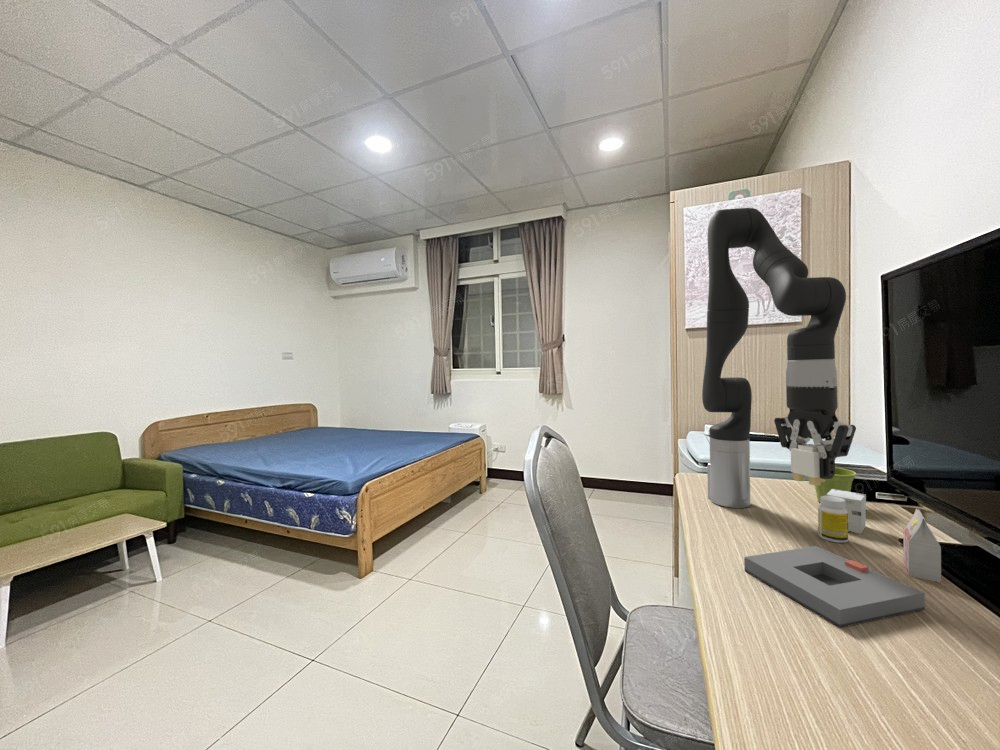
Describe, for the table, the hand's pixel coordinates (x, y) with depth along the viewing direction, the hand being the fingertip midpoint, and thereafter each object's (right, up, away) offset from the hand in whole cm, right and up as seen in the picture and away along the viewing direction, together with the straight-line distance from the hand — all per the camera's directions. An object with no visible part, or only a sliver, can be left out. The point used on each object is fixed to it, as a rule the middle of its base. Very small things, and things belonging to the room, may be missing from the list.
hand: (812, 474), depth 74 cm
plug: (0, -1, 0) cm, 1 cm away
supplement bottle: (+11, -16, +8) cm, 21 cm away
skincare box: (+19, -15, +14) cm, 28 cm away
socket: (-6, -16, -10) cm, 20 cm away
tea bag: (+15, -16, -5) cm, 22 cm away
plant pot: (+28, -15, +28) cm, 42 cm away
